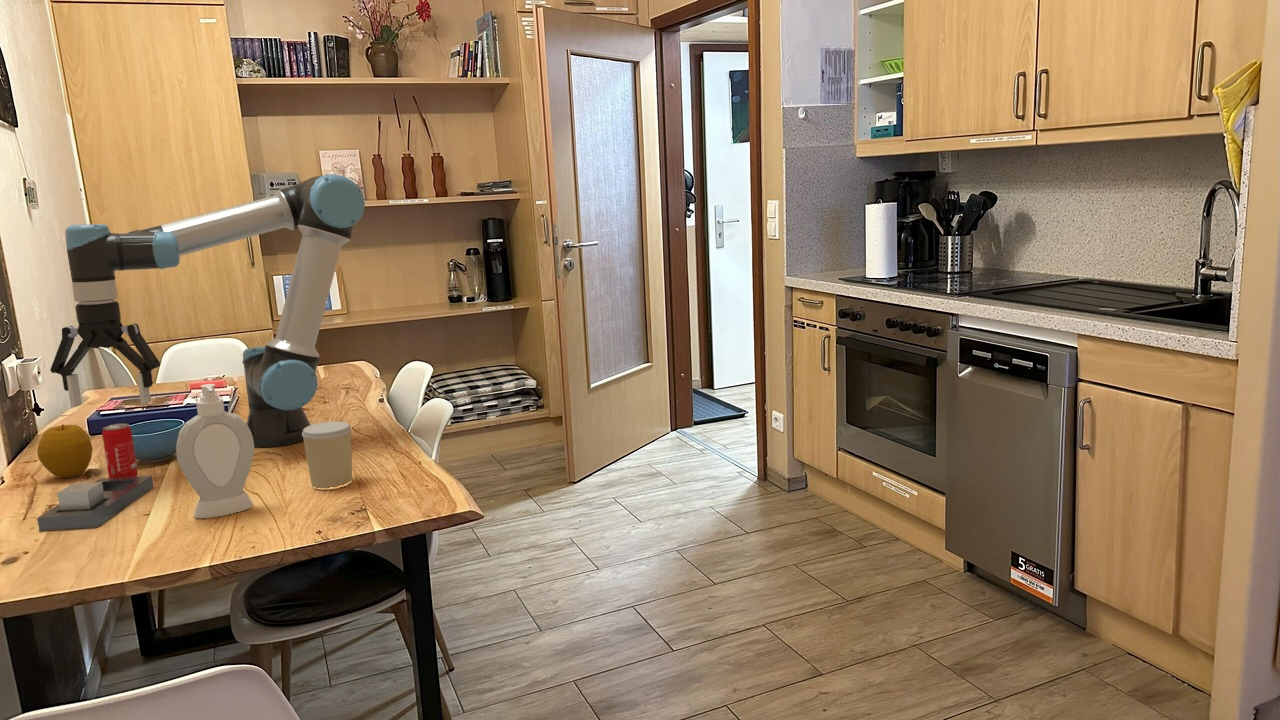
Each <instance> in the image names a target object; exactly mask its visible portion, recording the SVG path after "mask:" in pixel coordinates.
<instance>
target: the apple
mask: <svg viewBox="0 0 1280 720" xmlns="http://www.w3.org/2000/svg"><path fill="white" fill-rule="evenodd" d="M92 445H93V444H92V441H91V437H90V436H89V434H88V432H86V430H84V429H83V428H82V427H81V426H79V425H78V424H63V423H62V424H61V425H57V426H52V427H48V429H46V430H45V431H44V432H43V434H42V436H41V438H40V440H39V442H38V445H37V451H36V453H37V456H38V457H37V458H38V460H39V462H40V463H41V464H42V466H43V467H44V468H45V469H46V470H47V471H48V472H50V473H51V474H52V475H53V476H55V477H57V478H63V479H64V478H65V479H66V478H76V477H79V476H81V475H83V474H84V473H85V472H86V470H87V469H88V467H89V465H90V464H91V463H90V462H91V460H92V456H93V446H92Z"/></svg>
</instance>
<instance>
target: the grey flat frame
mask: <svg viewBox="0 0 1280 720" xmlns="http://www.w3.org/2000/svg"><path fill="white" fill-rule="evenodd" d="M153 488H154V482H153V476H152V475H137V476H136V477H118V478H109V477H106V478H105V477H103V478H101V477H100V478H99V479H97V480H96V481H93V482H79V483H78V482H77V483H71V484H70V485H68V486H67V487H64V488H63V489H62V490H60V491H58V492H57V499H58V500H57V501H58V504H57V505H56V506H55V505H54V507H53V508H50V509H48V510H47V511H46V512H44V513H42V514H41V515H39V516H38V517H37V518H36V519H37V525H38V526H37V527H38V530H39V532H45V531H60V530H61V531H63V530H77V529H92V528H94V529H96V528H100V527H101V526H102V525H103V524H105V523H106V522H108V521H109V520H111V519H112V518H113V517H114V516H116V515H117V514H118V513H120V512H122V511H123V510H124V509H125V508H127V507H128V506H130V505H131V504H132V503H134V502H135V501H137V500H139V498H140V497H142V496H143V495H145V494H147V492H149V491H151V490H152V489H153Z"/></svg>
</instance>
